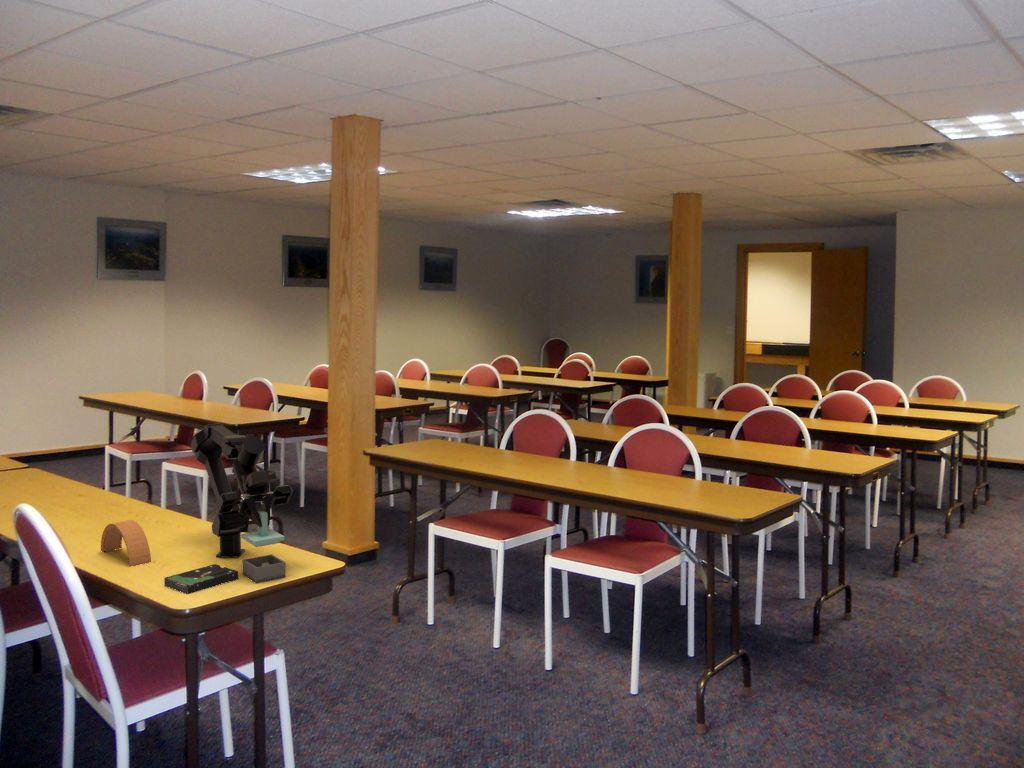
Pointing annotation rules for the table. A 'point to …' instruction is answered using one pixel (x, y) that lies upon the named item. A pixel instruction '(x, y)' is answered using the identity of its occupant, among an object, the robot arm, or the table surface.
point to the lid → (263, 534)
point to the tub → (264, 568)
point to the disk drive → (200, 578)
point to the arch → (127, 541)
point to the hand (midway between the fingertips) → (264, 525)
